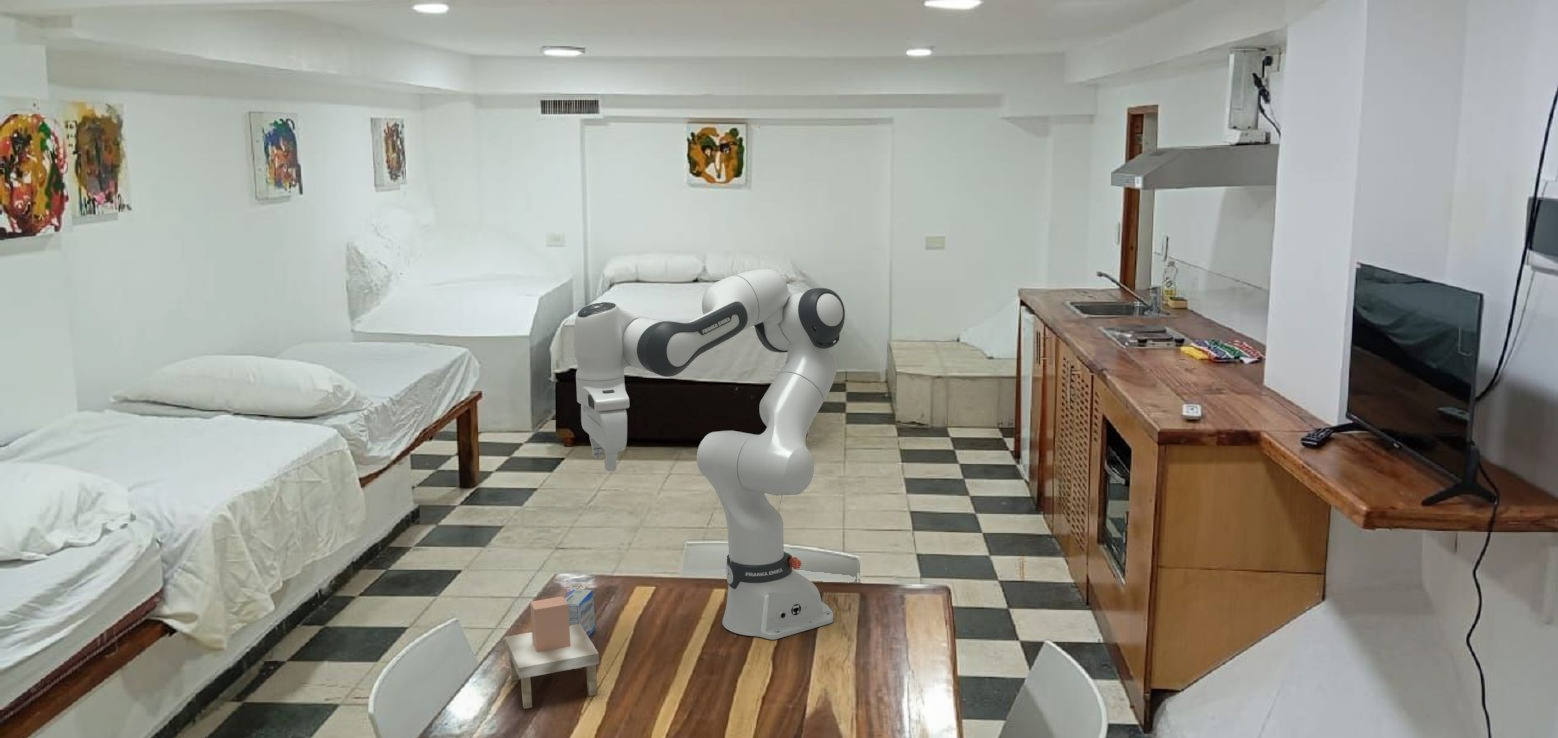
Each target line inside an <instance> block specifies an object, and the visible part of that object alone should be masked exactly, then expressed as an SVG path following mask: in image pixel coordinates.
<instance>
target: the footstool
mask: <svg viewBox="0 0 1558 738" xmlns="http://www.w3.org/2000/svg"><path fill="white" fill-rule="evenodd" d="M569 627H570V645H571V646H569V647H563V648H558V649H552V650H547V651H541V652H537V651H536V649H535V647H534V645H533V641H532V631H531V632H525V633H519V634H514V635H509V636H507V635H506V636H504V644H505V645H504V647H505V650H506V652H507V654H508V658H509V673H510V674H509V675H510V680H511V682H516V681H520V687H521V688H520V689H521V700H522V708H523V709H524V710H525V709H531V708H533V699H532V698H533V697H532V684H531V683H532V682H531V678H533V677H537V676H542V675H547V674H553V673H558V672H563V671H570V670H573V669H574V670H580V669H583V668H584V667H585V668H586V685H587V694H588V696H589V697H593V696H597V695H598V682H597V678H598V677H597V665H600V653H599V651H598V650H597V649H596V647H595V645H594V643H593V642H592V640H591V639H590V636H589V637H588V635H587V634H586V632H585V631H584V629H583V627H582V626H581V624H576V625H571V626H569Z"/></svg>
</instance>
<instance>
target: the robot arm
mask: <svg viewBox="0 0 1558 738" xmlns="http://www.w3.org/2000/svg"><path fill="white" fill-rule="evenodd" d="M845 310H846V309H845V304H844V301H843V300H842V299H841V297H840V295H839V294H838V293H836V292H835V291H834V290H833V289H829V288H826V287H815V288H814V287H813V288H809V289H807V290H806V291H801V292H797V293H795V294H793V293H792V292H790V291H789V288H788V284H787V282H786V279H785V278H784V277H783V275H782V274H781V273H779V272H778V271H776V270H775V269H772V268H768V267H766V268H757V269H751V270H746V271H742V272H739V273H736V274H732V275H730V276H727V277H725V278H722V279H720V280H718V281H716V282H714V283H713V284H712V285H710V286H709V287H707V288H706V289H705V291H704V293H703V296H702V301H701V311H702V315H700V316H698V317H696V318H693V319H692V320H690V321H687V322H680V321H679V322H678V321H671V320H659V319H655V318H650V317H644V316H641V315H636V314H633V313H631V312H628V311H625V310H624V309H622V308H620V307H619V306H618V305H617V304H616V303H614V302H608V301H607V302H605V301H604V302H603V301H602V302H598V303H597V302H596V303H595V302H594V303H591V304H588V305H586V306H584V307H582V308H581V309H580V310H578V312H577V314H576V316H575V321H574V328H573V329H574V330H573V339H574V340H573V342H574V357H575V359H576V363H577V369H576V372H575V383H576V384H575V385H576V402H577V403H578V404H580V423H581V427H582V429H583V430H584V432H585V433H587V434H588V435H589V436H588V437H589V441H590V444H591V455H592V457H594V459H602V458H604V454H605V460H604V468H605V470H606V471H607V472H615V471H616V470H617V460H618V459H617V458H618V456H619V452H623V451H625V450H626V447H627V442H628V413H627V409H629V408H630V405H631V404H630V397H629V395H628V393H627V390H626V384H625V368H627V367H631V368H634V369H635V368H636V369H639V370H642V371H643V370H644V371H648V372H650V373H652V374H653V373H654V374H656V375H657V376H661V377H665V378H666V377H674V376H677V375H680V373H682V372H683V371H684V370H686V369H687V367H689V366H690V365H691V363H693V361H694V360H695V359H697V358H698V357H699V356H700V355H701V354H704V353H705V352H707V351H709V350H711V349H713V348H715V347H717V346H718V345H721V344H723V343H724V342H726V341H728V340H730V339H732V338H733V337H735V336H737V335H739V333H741V332H743V331H744V330H747V329H750V328H752V327H754V329H755V333H756V335H757V339H758V340H759V341H760V344H761V345H762V346H763V347H764V348H765V349H766V350H769V351H770V352H773V353H782V354H783V353H787V355H786V359H785V362H784V365H783V366H782V367H781V369H780V370H779V372H778V373H777V375H776V376H775V378H774V379H773V381H772V382H771V384H770V385H769V386H768V389H767V390H766V392H765V393H764V395H763V397H762V399H761V400H760V402H759V416H760V418H761V421H762V423H763V424H764V425H765V426H766V428H765V430H764V431H763V432H762V433H760V434H753V433H748V432H743V431H736V430H720V431H712V432H709V433H708V434H706V435H705V436H704V438H703V439H702V440H701V441H700V443H699V445H698V447H697V451H696V464H697V467H698V468H697V469H698V470H699V472H700V474H701V475H702V476H703V477H704V478H705V479H706V480H707V481H708V482H709V484H711V487H712V488H713V489H714V491H715V493H716V495H717V497H718V499H719V501H720V504H721V506H722V509H723V512H724V513H723V514H724V516H725V520H726V530H727V544H728V545H727V547H728V554H727V555H726V569H725V570H726V572H725V573H726V581H727V584H728V585H727V586H728V587H727V588H728V589H727V598H726V606H725V610H724V614H723V618H722V621H721V623H722V626H723V627H724V628H725V629H726V630H728V631H730V632H731V633H734V634H738V635H742V636H749V637H757V638H759V637H760V638H763V639H766V640H771V641H772V640H779V639H782V638H784V637H789V636H793V635H795V634H798V633H802V632H805V631H809V630H812V629H815V628H818V627H823V626H825V625H829V624H832V623H833V622H834V619H835V618H834V612H833V611H832V609H831V608H830V607H829V606H828V605H827V604H826V603H825V602H823V600H822V597H821V594H820V591H819V589H818V588H817V586H816V585H815V584H814V583H813V582H812V581H811V580H810V579H808V578H807V577H806V576H803V575H802V574H801V573H799V572H798V571H796V570H799V569H800V568H801V567H802V561H801V559H798V557H796V556H793V555H791V554H790V553H789V552H786V551H784V548H785V547H784V545H785V544H784V543H785V541H784V540H785V539H784V520H783V517H782V515H781V513H780V512H779V511H778V509H776V507H774V505H772V503H770V501H769V499H768V497H767V496H766V495H765V494H767V495H772V496H779V497H780V496H797V495H801V494H802V493H804V492H805V491H806V490H807V488H808V487H809V486H810V484H811V483H812V481H813V477H814V472H815V463H814V458H813V455H812V454H811V451H810V450H809V449H808V447H807V444H806V443H807V441H806V440H807V434H808V432H809V428H810V426H811V425H812V423H813V421H814V419H815V418H816V415H817V414H818V413H819V410H820V408H822V405H823V403H824V402H825V400H826V398H827V397H828V395H829V392H831V391H830V390H831V388H832V386H833V384H834V380H835V379H836V378H835V377H836V374H837V371H838V361H837V359H836V356H835V355H834V354H833V353H832V351H831V350H830V348H833V347H834V346H836V345H837V344H838V343H839V341H840V335H841V331H842V329H843V327H844V324H845V320H846V319H845V318H846V311H845ZM834 341H835V342H834Z"/></svg>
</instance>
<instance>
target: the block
mask: <svg viewBox="0 0 1558 738" xmlns="http://www.w3.org/2000/svg"><path fill="white" fill-rule="evenodd" d="M529 605H530V622H531V623H530V624H531V632H532V641H533V645H534V647H535V649H536V651H537V652H541V651H547V650H552V649H558V648H563V647H569V646H571V645H570V627H569V609H568V603H567V601H566V600H565V596H563V595H562V596H556V597H550V598H544V599H537V600H533V601H532V600H531V601H530V602H529Z"/></svg>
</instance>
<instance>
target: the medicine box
mask: <svg viewBox="0 0 1558 738" xmlns="http://www.w3.org/2000/svg"><path fill="white" fill-rule="evenodd" d="M564 598H565V600H566V601H567V603H568V609H569V626H571V625H576V624H581V626H582V627H583V629H584V631H585V632H586V634H587V635H588V637H589V638H590V637H591V635H592V634H593V633H594V632H595V630H596V623H595V622H596V621H595V619H596V618H595V603H594V591H593V590H592V589H582V588H579V589H578V588H577V589H576V588H575V589H572V590H571V591H570V592H569V593H568V594H567V595H566V596H564Z"/></svg>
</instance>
